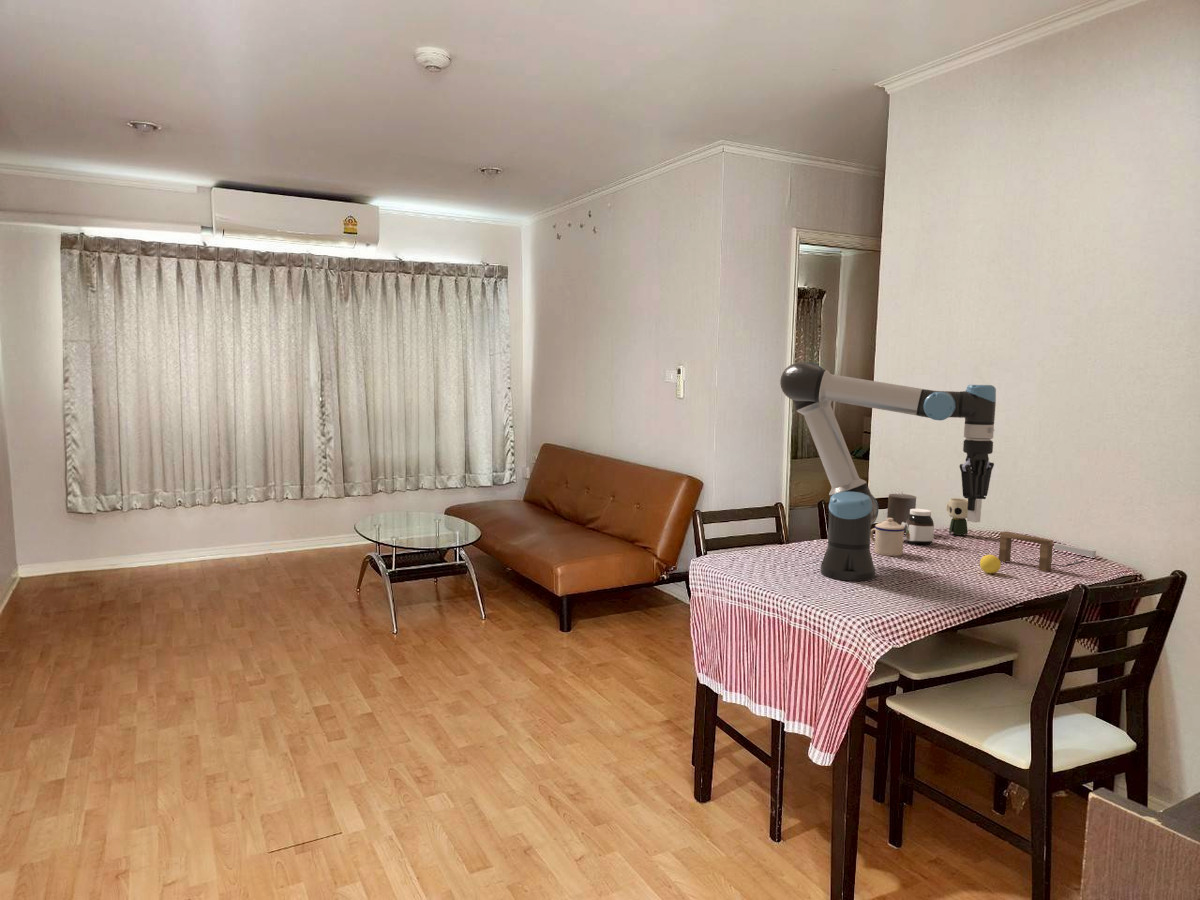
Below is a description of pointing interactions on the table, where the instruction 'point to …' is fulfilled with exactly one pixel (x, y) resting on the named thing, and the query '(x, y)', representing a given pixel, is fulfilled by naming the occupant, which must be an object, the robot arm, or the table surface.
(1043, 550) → the bridge
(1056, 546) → the wall
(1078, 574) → the table surface
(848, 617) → the table surface
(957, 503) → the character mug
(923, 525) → the spread jar
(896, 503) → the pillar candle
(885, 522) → the teacup with lid
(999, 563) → the ball
